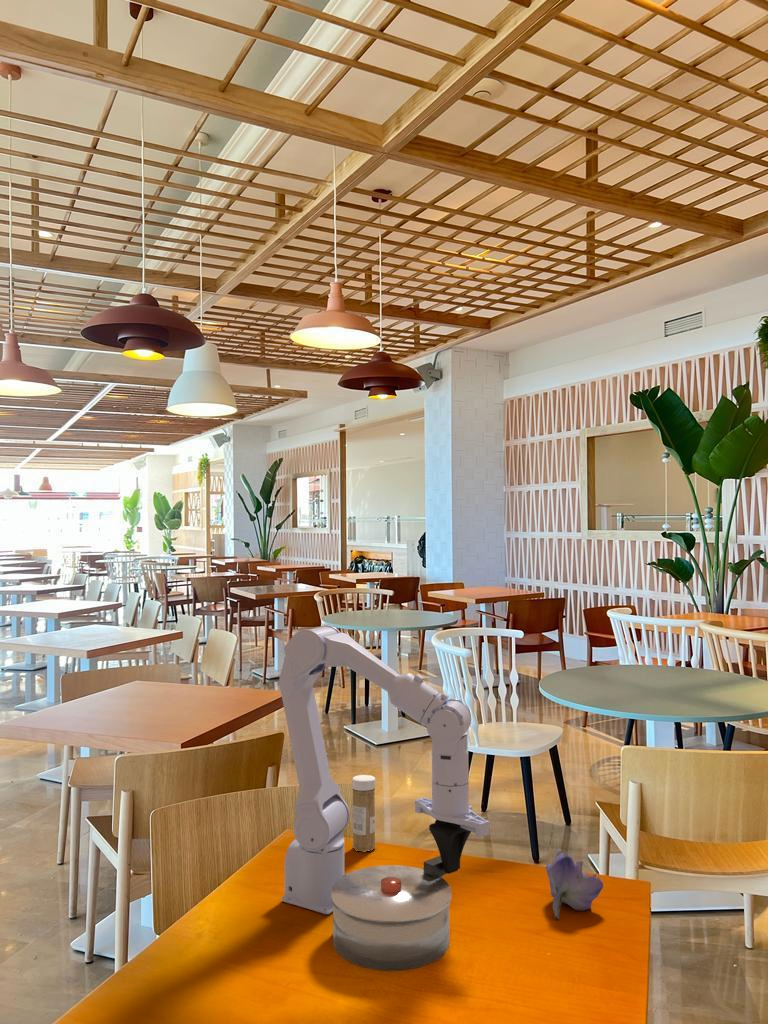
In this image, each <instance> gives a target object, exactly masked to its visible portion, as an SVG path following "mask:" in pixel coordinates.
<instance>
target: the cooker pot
mask: <svg viewBox="0 0 768 1024" xmlns="http://www.w3.org/2000/svg"><path fill="white" fill-rule="evenodd" d="M423 870H424V868H423ZM440 877H442V878H443V877H444V875H442V876H440ZM332 925H333V926H332V932H333V933H332V934H333V935H332V943H333V948H334V950H335V951H336V953H337V954H338V955H339V956H341V957H342V958H343V959H344V960H345V961H348V962H350V963H352V964H353V965H356V966H359V967H361V968H362V967H363V968H365V969H369V970H370V969H371V970H376V971H385V972H386V971H387V972H390V971H391V972H394V971H395V972H397V971H407V970H413V969H417V968H421V967H424V966H427V965H430V964H431V963H433V962H437V960H439V959H440V958H441V957H443V956H444V955H445V953H446V952H447V951H448V949H449V947H450V905H449V906H448V907H447V908H446V909H445V910H444V911H442V912H441V913H439V914H438V915H436V916H434V917H431V918H429V919H426V920H422V921H418V922H413V923H406V924H377V923H370V922H365V921H361V920H357V919H354V918H352V917H349V916H347V915H345V914H343V913H342V912H340V911H339V910H338V909H337V908H336V907H335V906H334V905H333V912H332Z"/></svg>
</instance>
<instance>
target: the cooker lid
mask: <svg viewBox="0 0 768 1024" xmlns="http://www.w3.org/2000/svg"><path fill="white" fill-rule="evenodd" d="M423 869H424V870H423ZM423 869H422V868H419V867H415V866H414V867H413V866H408V865H397V864H396V865H395V864H394V865H392V864H390V865H388V864H387V865H385V864H384V865H375V866H368V867H364V868H358V869H356V870H353V871H351V872H348V873H346V874H344V876H342V877H341V878H339V879H338V880H337V881H336V882H335V883H334V884H333V886H332V889H331V900H332V903H333V905H334V906H335V907H336V908H337V909H338V910H339V911H340V912H342V913H343V914H345V915H347V916H349V917H352V918H354V919H357V920H361V921H365V922H370V923H377V924H406V923H413V922H418V921H422V920H426V919H429V918H431V917H434V916H436V915H438V914H439V913H441V912H442V911H444V910H445V909H446V908H447V907H448V906H449V907H450V904H451V901H452V888H451V885H450V884H449V883H448V882H447V880H445V879H444V878H443V877H440V876H442V875H443V876H444V875H447V874H448V873H446V872H444V868H443V864H442V860H441V856H440V855H438V856H435V857H433V858H430V859H428V860H427V859H426V860H424V861H423ZM458 870H461V861H460V862H459V867H458Z"/></svg>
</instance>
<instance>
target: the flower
mask: <svg viewBox="0 0 768 1024" xmlns="http://www.w3.org/2000/svg"><path fill="white" fill-rule="evenodd" d="M561 851H562V849H561V848H557V849H556V852H555V855H554V858H553V860H552V862H551V864H550V863H547V865H545V872H546V874H547V877H548V881H549V886H550V887H549V888H550V895H551V897H552V898H553V900H552V910H553V914H554V919H555V921H559V920H560V915H561V914H560V911H561V908H562V904H566V905H568V906H570V907H571V908H572V909H573V910H576V911H579V912H581V911H587V910H590V909H591V908H592V903H593V901H595V900H596V899H597V898H598V896H599V895H600V894H601V891H602V890H603V889H604V883H603V881H602V880H601V878H600V876H597V874H596V873H594V874H587V872H585V871H583V864H584V862H583V860H577V861H574V860H573V857H571V856H570V855H569V853H568V852H567V851H566V852H565V855H564V852H561Z"/></svg>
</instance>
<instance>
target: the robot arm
mask: <svg viewBox="0 0 768 1024" xmlns="http://www.w3.org/2000/svg"><path fill="white" fill-rule="evenodd" d="M283 650H284V658H283V663H282V667H281V671H280V674H279V679H278V681H279V683H278V684H279V690H280V695H281V700H282V703H283V704H282V705H283V710H284V713H285V715H284V716H285V719H286V724H287V725H286V726H287V731H288V735H289V740H290V744H291V745H290V746H291V752H292V756H293V761H294V765H295V772H296V777H297V780H298V781H297V782H298V787H299V788H298V793H297V797H296V799H295V802H294V811H295V812H294V813H295V820H294V824H293V834H294V837H295V839H294V840H293V841H292V842H291V843H290V844H289V846H288V848H287V851H286V853H285V857H284V895H283V896H282V897H281V902H284V903H287V904H290V905H293V906H294V905H295V906H297V907H300V908H303V909H308V910H311V911H314V912H317V913H320V914H323V915H330V914H331V913H333V903H332V900H331V889H332V886H333V884H334V883H335V882H336V881H337V880H338V879H339V878H341V877H342V876H344V875H345V837H344V830H345V829H346V828H347V826H348V825H349V823H350V819H351V812H350V808H349V805H348V804H347V802H346V801H345V799H344V798H343V795H342V793H341V788H340V786H339V785H338V783H337V782H335V781H334V780H333V778H332V776H331V770H330V764H329V762H328V761H329V760H328V756H327V750H326V745H325V740H324V736H323V729H322V726H321V720H320V715H319V711H318V706H317V701H316V697H315V696H316V695H315V691H314V684H315V683H316V681H317V680H318V678H319V677H320V676H321V674H322V673H323V671H324V670H325V669H326V668H332V667H333V668H334V667H335V668H337V667H339V668H340V667H341V668H342V667H347V668H349V669H350V670H352V671H353V672H355V673H357V674H358V675H360V676H361V677H363V678H365V679H366V680H367V681H370V682H371V683H372V684H374V685H376V686H377V687H379V688H381V689H383V690H384V691H386V692H387V694H388V697H389V703H390V704H391V705H392V706H394V707H395V708H397V709H398V710H400V711H401V712H403V713H404V714H405V715H407V716H408V717H410V718H412V720H414V721H415V722H417V723H419V724H420V725H422V726H423V727H426V731H427V734H428V735H429V737H430V738H431V744H432V745H431V748H432V750H431V799H429V798H427V797H421V798H418V799H415V800H414V812H415V813H416V814H424V815H427V816H430V817H431V818H433V819H435V821H434V822H433V823H430V824H429V828H428V830H429V832H430V833H431V835H432V837H433V839H434V842H435V843H436V846H437V849H438V851H439V856H441V860H442V864H443V868H444V872H446V873H447V874H449V875H450V874H452V873H453V874H454V873H455V872H458V870H459V869H458V867H459V862H460V863H461V857H462V854H463V851H464V848H465V845H466V842H467V840H468V838H469V837H470V835H471V833H474V834H475V836H476V837H479V838H483V837H486V836H488V835H490V821H489V820H487V819H485V818H483V817H482V816H480V815H479V814H477V813H475V812H474V811H473V806H472V805H470V795H469V793H470V791H469V790H470V789H469V785H470V784H469V782H470V779H469V778H470V777H469V772H470V770H469V766H470V765H469V750H468V748H469V747H468V745H469V743H468V741H469V740H468V734H467V732H468V730H469V728H470V727H471V724H472V714H471V711H470V709H469V708H468V706H467V705H465V704H464V702H463V701H462V700H461V699H458V698H449V697H450V696H449V694H448V693H446V692H442V693H441V692H439V691H438V690H437V689H435V688H433V687H432V686H431V685H429V684H428V683H426V682H425V681H424V680H425V677H424V676H423V675H421V674H419V673H417V674H415V675H414V674H413V673H412V672H407V673H404V674H399V673H398V672H397V671H395V670H394V669H392V668H391V667H390V666H389V665H388V664H386V663H385V662H383V661H382V660H381V659H379V658H378V657H377V656H375V655H374V654H373V653H371V652H370V651H369V650H368V649H367V648H364V646H362V645H361V644H359V642H357V641H356V640H354V639H353V638H352V637H351V636H350V635H349V634H347V633H344V632H341V631H340V630H339V629H338V628H336V627H334V626H332V625H330V624H329V625H328V624H325V625H321V626H319V627H315V628H309V629H301V630H298V631H297V632H295V633H294V634H293V635H292V636H291V638H290V639H289V640H288V642H287V643H286V644H285V645H284V646H283Z"/></svg>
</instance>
